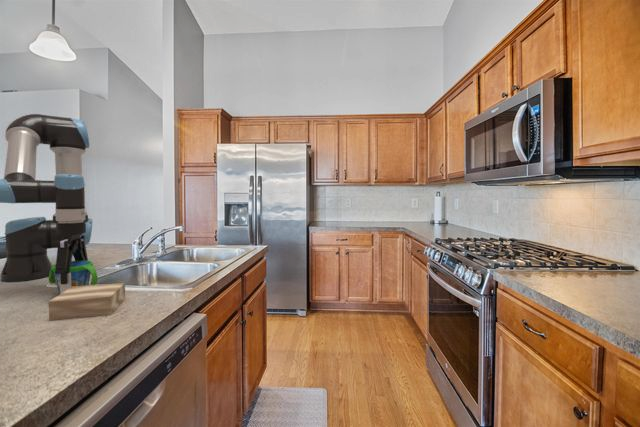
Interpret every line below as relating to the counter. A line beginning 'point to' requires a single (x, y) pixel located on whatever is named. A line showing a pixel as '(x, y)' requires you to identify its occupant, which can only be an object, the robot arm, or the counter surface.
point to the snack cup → (76, 274)
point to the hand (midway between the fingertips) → (73, 288)
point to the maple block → (87, 301)
